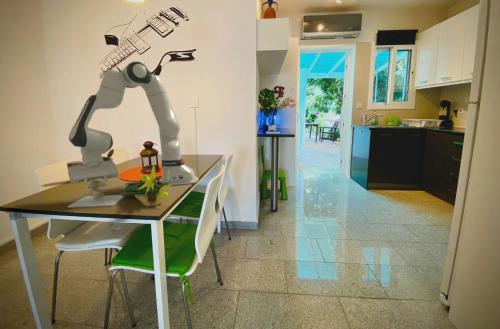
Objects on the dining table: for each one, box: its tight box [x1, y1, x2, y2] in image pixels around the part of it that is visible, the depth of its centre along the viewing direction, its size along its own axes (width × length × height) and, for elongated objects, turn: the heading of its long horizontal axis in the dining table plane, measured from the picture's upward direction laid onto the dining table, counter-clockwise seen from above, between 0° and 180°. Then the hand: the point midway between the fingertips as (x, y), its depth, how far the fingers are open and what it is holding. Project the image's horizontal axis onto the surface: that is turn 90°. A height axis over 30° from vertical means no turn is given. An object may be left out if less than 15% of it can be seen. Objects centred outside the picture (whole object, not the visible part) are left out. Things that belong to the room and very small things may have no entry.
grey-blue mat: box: [67, 194, 126, 208], centre depth 119 cm, size 20×14×1 cm
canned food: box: [66, 160, 82, 180], centre depth 157 cm, size 8×8×12 cm
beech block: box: [89, 178, 105, 199], centre depth 118 cm, size 4×4×9 cm
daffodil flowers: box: [121, 164, 173, 204], centre depth 116 cm, size 17×15×35 cm
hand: (96, 186), depth 117 cm, fingers open, 4 cm apart
